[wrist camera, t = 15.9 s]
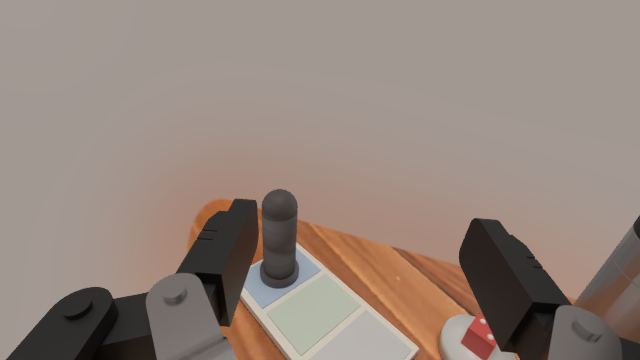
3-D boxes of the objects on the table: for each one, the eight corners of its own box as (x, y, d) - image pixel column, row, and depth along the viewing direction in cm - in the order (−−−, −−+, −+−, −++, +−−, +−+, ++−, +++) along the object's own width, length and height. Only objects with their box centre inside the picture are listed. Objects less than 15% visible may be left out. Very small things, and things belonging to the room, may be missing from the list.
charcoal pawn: (283, 253, 42) (284, 176, 36) (306, 275, 39) (312, 194, 32) (252, 270, 39) (247, 189, 32) (274, 295, 36) (273, 211, 29)
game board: (295, 246, 45) (295, 240, 44) (417, 353, 32) (419, 347, 31) (228, 283, 38) (227, 276, 38) (347, 437, 25) (349, 431, 25)
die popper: (455, 314, 36) (468, 287, 34) (517, 359, 32) (536, 331, 30) (426, 351, 32) (438, 323, 30) (492, 408, 28) (512, 381, 25)
